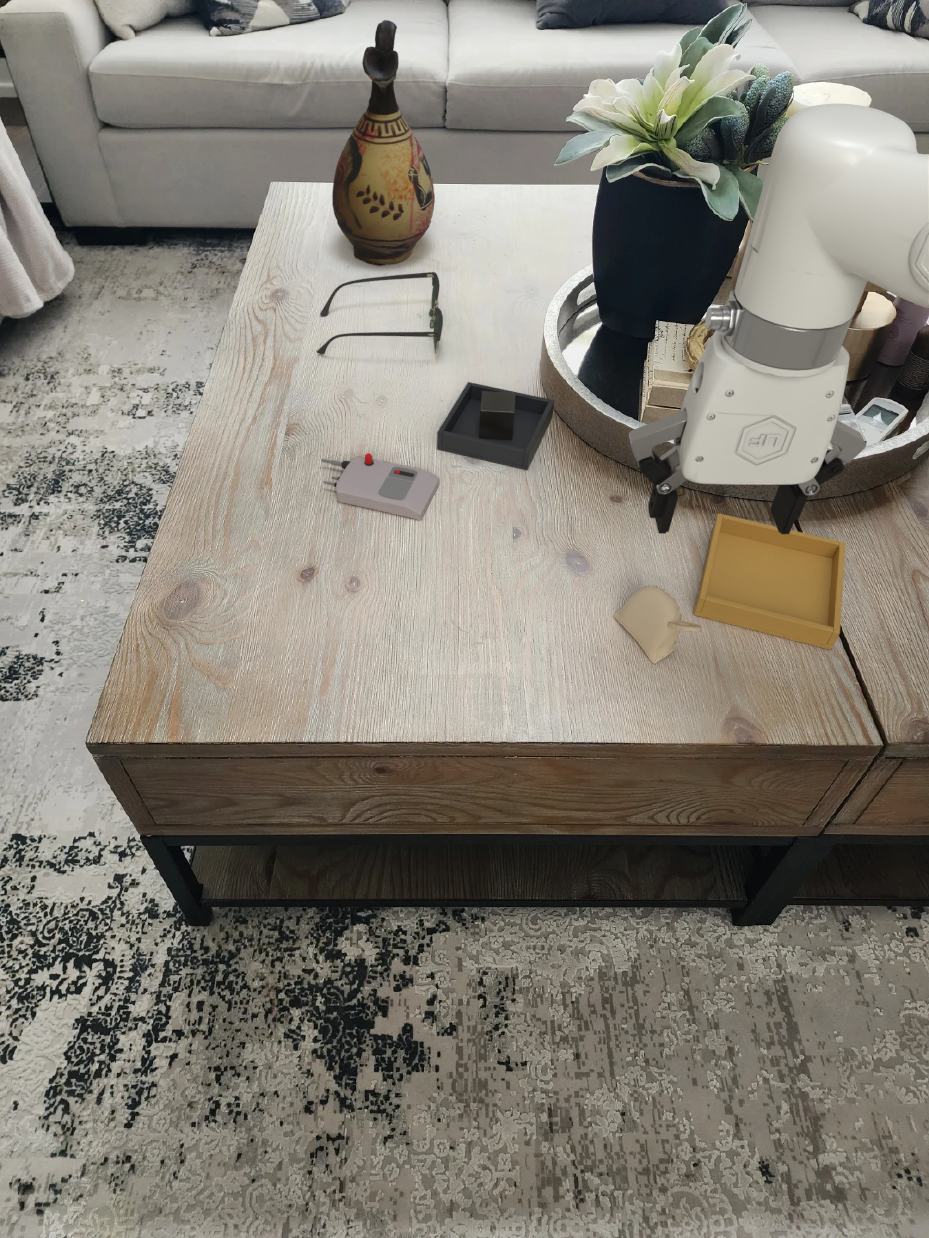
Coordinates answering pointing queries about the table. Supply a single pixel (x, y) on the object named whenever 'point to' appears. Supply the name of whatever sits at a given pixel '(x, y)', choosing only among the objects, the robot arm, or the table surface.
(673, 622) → the decorative ornament
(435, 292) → the sunglasses
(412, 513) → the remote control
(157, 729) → the table surface
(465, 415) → the charcoal tray
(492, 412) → the black block
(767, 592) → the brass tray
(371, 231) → the ceramic jug
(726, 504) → the table surface
